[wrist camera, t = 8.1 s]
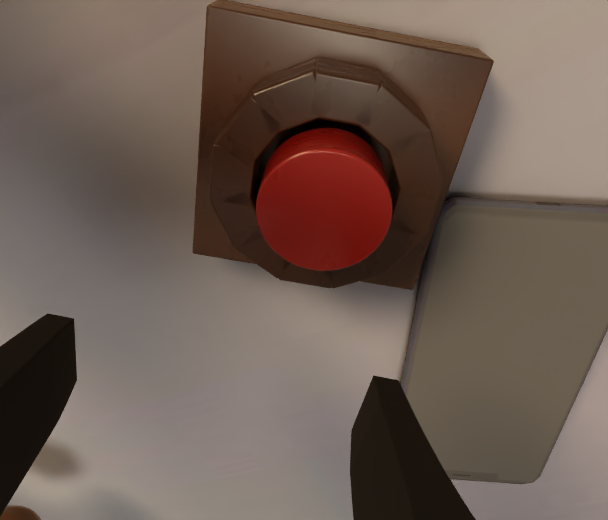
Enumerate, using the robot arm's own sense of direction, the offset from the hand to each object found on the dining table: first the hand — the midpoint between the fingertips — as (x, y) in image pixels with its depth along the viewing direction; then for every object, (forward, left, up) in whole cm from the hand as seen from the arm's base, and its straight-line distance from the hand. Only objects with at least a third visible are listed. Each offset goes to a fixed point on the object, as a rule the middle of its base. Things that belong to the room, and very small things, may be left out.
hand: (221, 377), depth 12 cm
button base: (-3, +2, -8) cm, 9 cm away
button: (-3, +2, -5) cm, 6 cm away
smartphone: (+4, +11, -8) cm, 14 cm away
